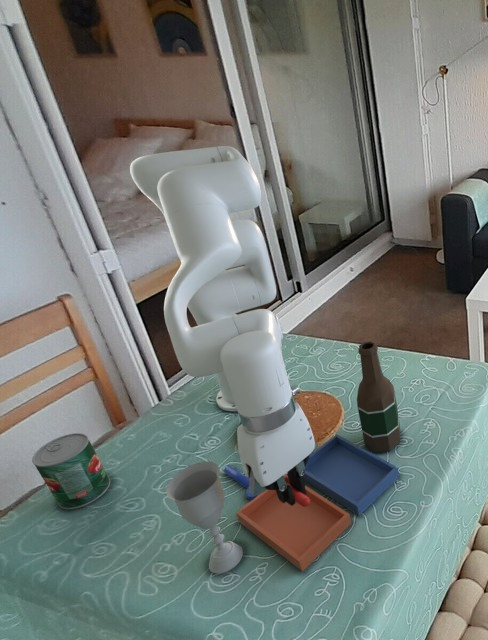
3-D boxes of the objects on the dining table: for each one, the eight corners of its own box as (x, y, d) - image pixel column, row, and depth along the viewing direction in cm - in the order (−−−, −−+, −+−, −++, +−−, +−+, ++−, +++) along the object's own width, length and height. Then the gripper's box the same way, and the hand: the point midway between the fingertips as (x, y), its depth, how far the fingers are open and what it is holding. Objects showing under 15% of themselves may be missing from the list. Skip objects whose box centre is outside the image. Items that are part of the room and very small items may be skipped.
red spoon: (318, 499, 82) (316, 492, 82) (300, 515, 80) (298, 508, 79) (274, 470, 88) (272, 464, 87) (255, 484, 85) (253, 478, 85)
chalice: (214, 540, 85) (182, 462, 77) (255, 536, 86) (227, 459, 77) (193, 582, 78) (156, 502, 70) (238, 578, 79) (206, 499, 71)
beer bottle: (393, 456, 101) (377, 359, 90) (357, 451, 103) (338, 355, 92) (407, 429, 108) (394, 336, 97) (374, 425, 109) (358, 332, 99)
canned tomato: (120, 481, 97) (98, 438, 92) (77, 514, 90) (51, 470, 85) (92, 471, 99) (69, 428, 94) (48, 503, 92) (21, 459, 87)
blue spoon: (218, 477, 97) (216, 471, 96) (235, 464, 100) (233, 459, 99) (254, 503, 92) (252, 497, 91) (272, 489, 94) (270, 484, 94)
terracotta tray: (239, 522, 88) (235, 512, 87) (289, 482, 96) (286, 473, 95) (302, 571, 80) (299, 561, 79) (351, 523, 88) (349, 513, 86)
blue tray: (297, 476, 97) (294, 466, 96) (338, 442, 105) (336, 433, 104) (359, 516, 89) (357, 506, 88) (399, 476, 97) (397, 467, 96)
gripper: (296, 374, 83) (317, 457, 91) (202, 433, 71) (236, 521, 79) (326, 389, 79) (346, 473, 87) (232, 453, 67) (265, 544, 75)
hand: (293, 496), depth 83 cm, fingers closed on red spoon, 1 cm apart
